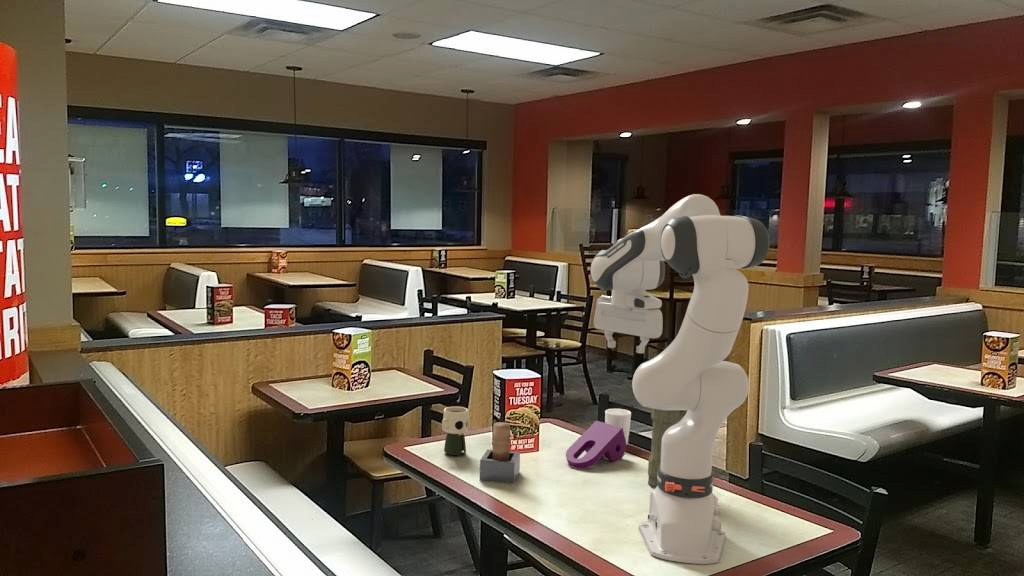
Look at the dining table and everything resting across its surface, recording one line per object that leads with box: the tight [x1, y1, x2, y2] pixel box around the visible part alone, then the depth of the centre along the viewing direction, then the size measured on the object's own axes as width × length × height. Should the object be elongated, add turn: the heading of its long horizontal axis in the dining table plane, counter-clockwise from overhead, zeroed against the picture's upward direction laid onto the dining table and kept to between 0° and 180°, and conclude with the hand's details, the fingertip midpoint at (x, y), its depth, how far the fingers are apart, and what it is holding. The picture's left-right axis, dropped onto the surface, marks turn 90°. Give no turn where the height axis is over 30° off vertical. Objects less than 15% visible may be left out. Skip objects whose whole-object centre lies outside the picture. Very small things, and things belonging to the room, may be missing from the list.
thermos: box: [647, 408, 687, 490], centre depth 199 cm, size 9×12×35 cm
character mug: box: [441, 406, 470, 456], centre depth 220 cm, size 11×7×13 cm, turn 141°
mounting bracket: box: [565, 420, 627, 470], centre depth 219 cm, size 10×8×18 cm
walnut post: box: [492, 421, 511, 461], centre depth 203 cm, size 4×4×14 cm
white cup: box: [604, 408, 632, 446], centre depth 236 cm, size 8×8×10 cm
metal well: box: [479, 449, 521, 485], centre depth 203 cm, size 9×9×6 cm
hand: (625, 350), depth 205 cm, fingers open, 8 cm apart
